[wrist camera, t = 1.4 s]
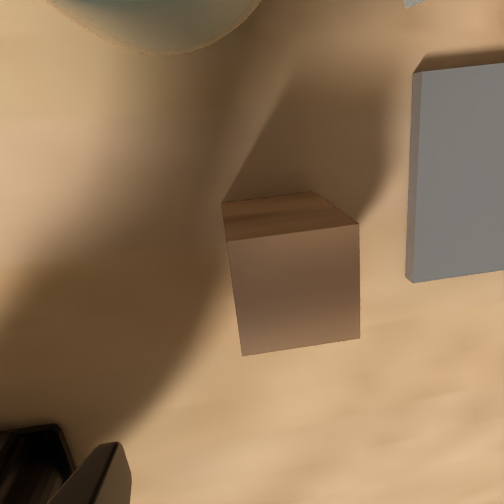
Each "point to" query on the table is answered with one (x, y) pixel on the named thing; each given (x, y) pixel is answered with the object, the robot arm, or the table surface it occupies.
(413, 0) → the painted cube
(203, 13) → the cup
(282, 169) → the table surface
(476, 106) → the coaster
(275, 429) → the table surface
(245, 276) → the walnut block
